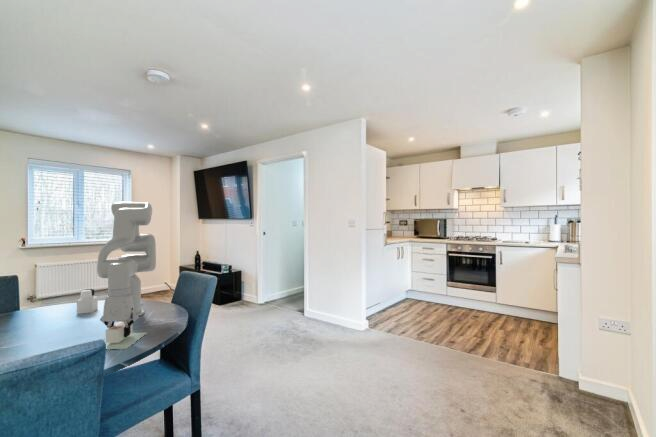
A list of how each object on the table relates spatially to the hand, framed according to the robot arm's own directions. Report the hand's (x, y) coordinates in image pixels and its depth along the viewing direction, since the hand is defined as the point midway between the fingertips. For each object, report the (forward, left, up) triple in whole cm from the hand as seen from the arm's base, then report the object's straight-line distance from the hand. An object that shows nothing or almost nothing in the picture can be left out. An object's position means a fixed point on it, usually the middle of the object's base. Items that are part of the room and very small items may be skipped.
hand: (119, 335), depth 129 cm
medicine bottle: (-46, -42, -3) cm, 62 cm away
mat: (0, 0, -2) cm, 2 cm away
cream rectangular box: (0, 0, -1) cm, 1 cm away
